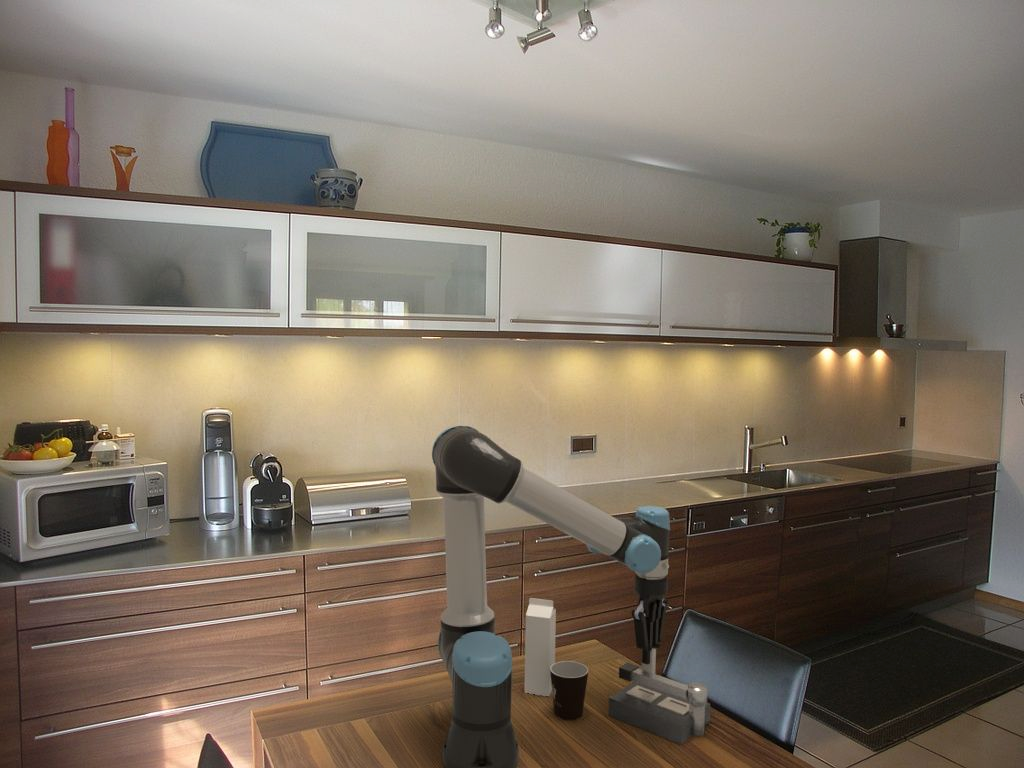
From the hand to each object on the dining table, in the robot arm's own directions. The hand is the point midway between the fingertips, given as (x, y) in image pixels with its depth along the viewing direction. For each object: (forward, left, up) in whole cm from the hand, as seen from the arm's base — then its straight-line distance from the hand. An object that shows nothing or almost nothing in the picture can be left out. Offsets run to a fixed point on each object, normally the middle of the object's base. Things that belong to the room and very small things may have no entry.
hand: (648, 675), depth 165 cm
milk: (-23, -11, -7) cm, 26 cm away
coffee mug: (-12, -14, -7) cm, 20 cm away
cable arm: (+6, -4, 0) cm, 7 cm away
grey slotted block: (+5, -4, -7) cm, 9 cm away
